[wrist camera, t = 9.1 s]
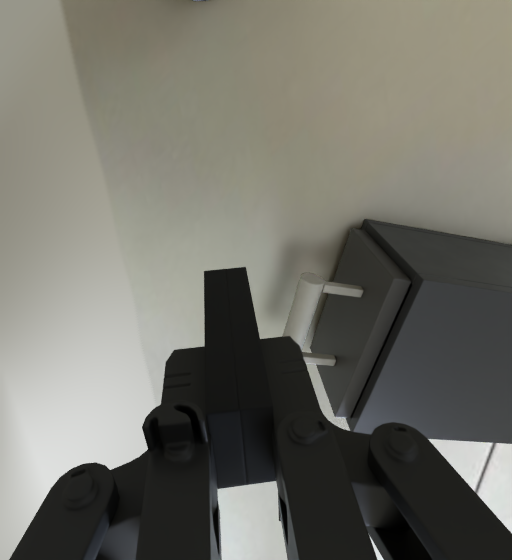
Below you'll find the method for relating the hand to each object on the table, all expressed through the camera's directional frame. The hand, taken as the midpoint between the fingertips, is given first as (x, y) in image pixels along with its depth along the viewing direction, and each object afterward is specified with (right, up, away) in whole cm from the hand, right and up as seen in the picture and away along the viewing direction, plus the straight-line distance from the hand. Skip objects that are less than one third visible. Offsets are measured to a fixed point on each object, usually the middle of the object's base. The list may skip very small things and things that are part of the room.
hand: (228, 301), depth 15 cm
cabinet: (+15, -1, +20) cm, 25 cm away
